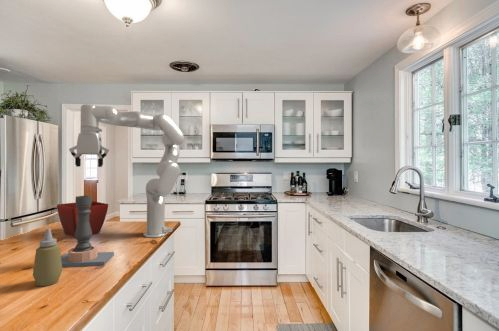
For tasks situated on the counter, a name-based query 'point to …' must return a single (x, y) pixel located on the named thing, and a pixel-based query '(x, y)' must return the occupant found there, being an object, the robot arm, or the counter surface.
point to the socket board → (88, 263)
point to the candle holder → (83, 224)
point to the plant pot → (71, 217)
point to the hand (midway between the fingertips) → (89, 166)
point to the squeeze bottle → (47, 261)
